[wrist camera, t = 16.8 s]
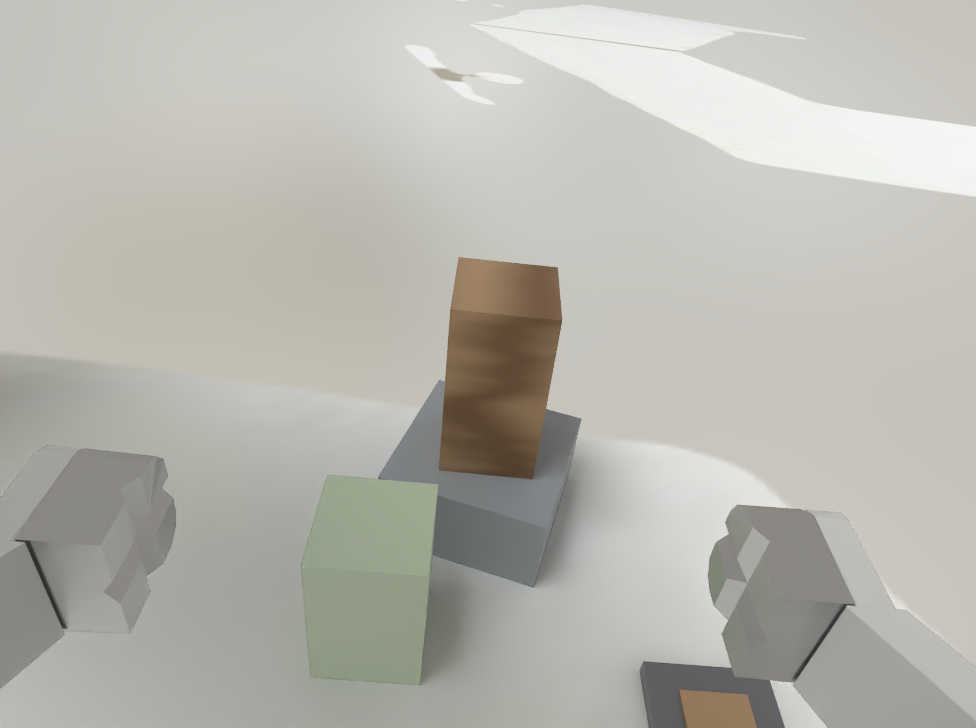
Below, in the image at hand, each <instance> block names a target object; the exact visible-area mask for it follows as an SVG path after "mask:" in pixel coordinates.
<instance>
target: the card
mask: <svg viewBox="0 0 976 728" xmlns="http://www.w3.org/2000/svg"><path fill="white" fill-rule="evenodd" d="M640 676H641V682H642V688H643V694H644V700H645V706H646V712H647V718H648V724H649V728H785V727H784V724H783V721H782V718H781V715H780V711H779V708H778V705H777V702H776V699H775V696H774V693H773V690H772V687H771V684H770V680H763V679H753V678H743V677H734V674H733V670H732V668H724V667H711V666H697V665H684V664H670V663H657V662H644V661H643V664H642V666H641V669H640Z"/></svg>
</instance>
